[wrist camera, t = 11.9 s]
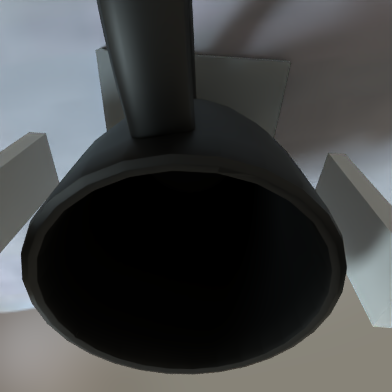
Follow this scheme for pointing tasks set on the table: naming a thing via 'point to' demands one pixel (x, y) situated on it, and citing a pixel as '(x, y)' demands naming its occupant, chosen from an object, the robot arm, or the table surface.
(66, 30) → the table surface
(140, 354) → the mug
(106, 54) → the coaster
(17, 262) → the table surface
